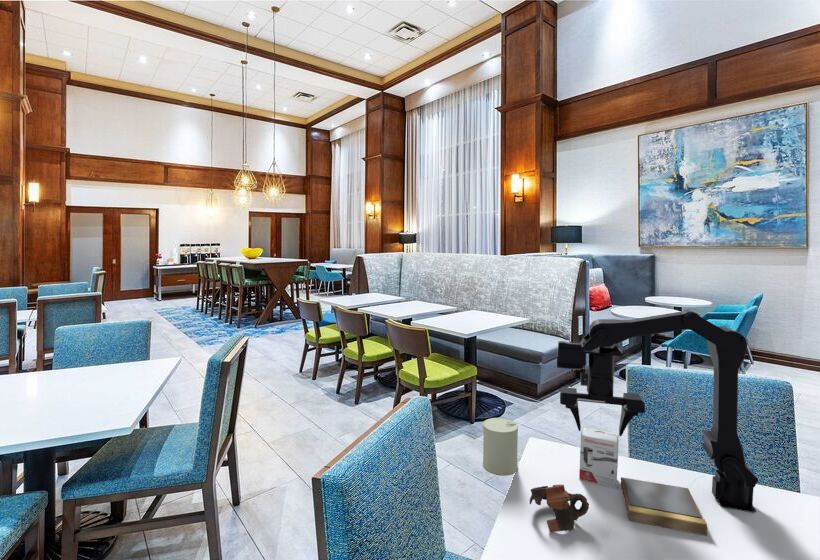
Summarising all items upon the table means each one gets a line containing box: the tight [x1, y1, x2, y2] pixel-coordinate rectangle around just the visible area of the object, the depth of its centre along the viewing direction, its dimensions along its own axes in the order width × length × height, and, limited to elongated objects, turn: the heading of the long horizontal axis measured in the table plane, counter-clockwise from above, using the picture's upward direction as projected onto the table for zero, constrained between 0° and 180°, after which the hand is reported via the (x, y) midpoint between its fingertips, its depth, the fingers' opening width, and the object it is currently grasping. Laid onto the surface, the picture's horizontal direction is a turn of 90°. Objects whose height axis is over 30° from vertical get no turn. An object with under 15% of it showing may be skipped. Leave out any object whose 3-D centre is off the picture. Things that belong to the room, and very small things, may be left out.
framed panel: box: [620, 477, 708, 536], centre depth 93 cm, size 14×14×2 cm
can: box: [482, 417, 519, 477], centre depth 110 cm, size 9×9×12 cm
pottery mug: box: [529, 484, 590, 533], centre depth 90 cm, size 12×10×8 cm
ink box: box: [578, 427, 620, 489], centre depth 104 cm, size 9×5×12 cm, turn 62°
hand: (599, 433), depth 103 cm, fingers open, 9 cm apart
